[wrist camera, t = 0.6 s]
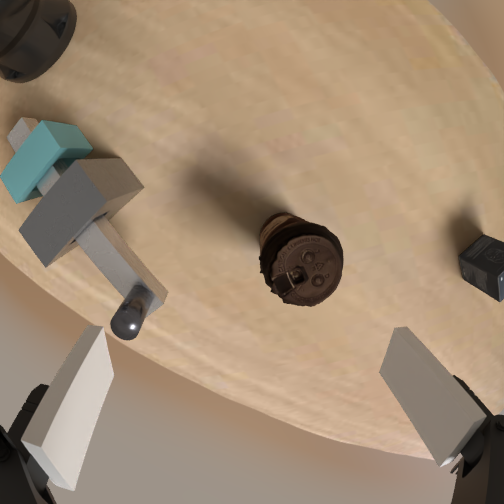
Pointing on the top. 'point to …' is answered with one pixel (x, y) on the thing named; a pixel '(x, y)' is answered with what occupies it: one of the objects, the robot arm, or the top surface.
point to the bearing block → (78, 205)
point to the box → (485, 266)
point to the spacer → (42, 157)
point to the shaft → (107, 254)
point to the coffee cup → (299, 259)
